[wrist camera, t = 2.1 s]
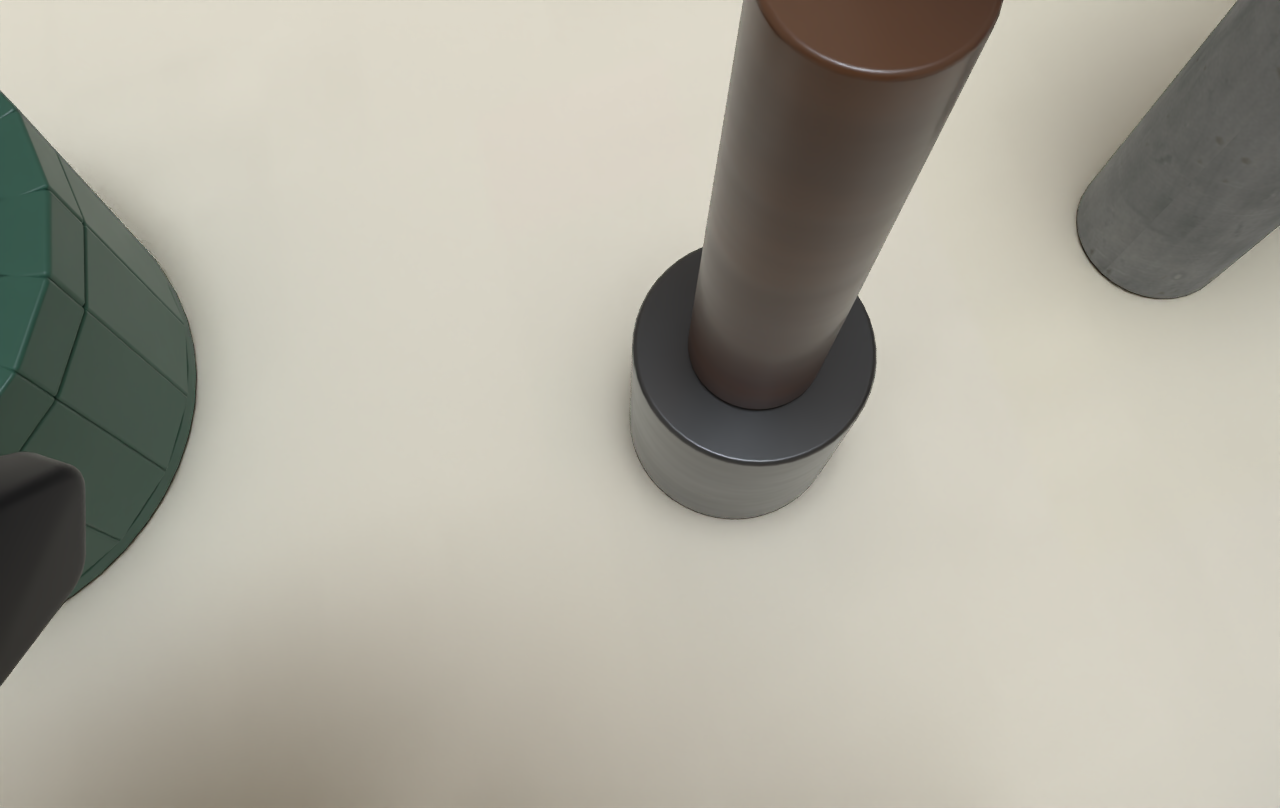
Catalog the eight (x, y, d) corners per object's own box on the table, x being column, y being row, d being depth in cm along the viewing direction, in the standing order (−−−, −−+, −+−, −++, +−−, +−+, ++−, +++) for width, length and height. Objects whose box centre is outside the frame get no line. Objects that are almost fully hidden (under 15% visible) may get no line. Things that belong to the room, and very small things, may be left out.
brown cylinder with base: (736, 562, 21) (908, 268, 9) (587, 420, 22) (548, -34, 9) (874, 419, 22) (1205, -32, 10) (726, 287, 23) (855, -284, 10)
